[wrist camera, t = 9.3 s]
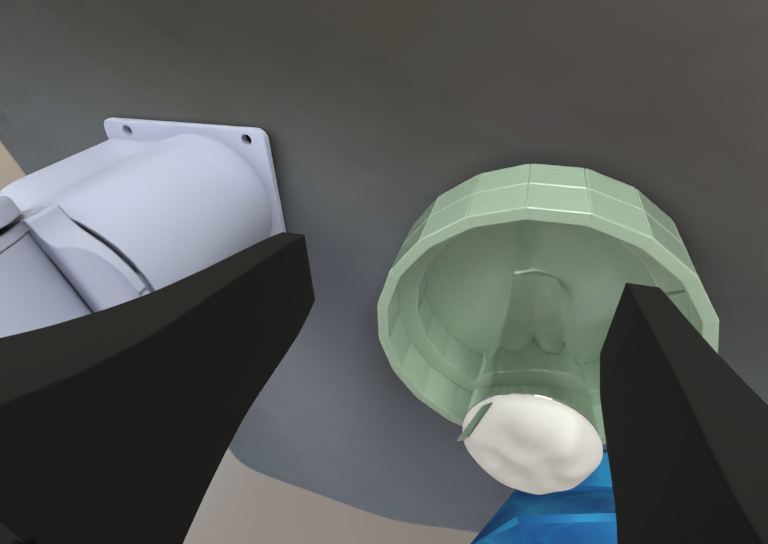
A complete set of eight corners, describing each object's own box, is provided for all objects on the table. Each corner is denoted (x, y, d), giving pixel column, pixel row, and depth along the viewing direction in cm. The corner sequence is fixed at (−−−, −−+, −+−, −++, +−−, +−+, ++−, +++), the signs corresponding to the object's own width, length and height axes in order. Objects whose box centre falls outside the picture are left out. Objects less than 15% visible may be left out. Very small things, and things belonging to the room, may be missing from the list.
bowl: (403, 353, 27) (382, 412, 24) (402, 147, 20) (370, 190, 16) (636, 399, 24) (650, 476, 20) (743, 173, 16) (795, 234, 13)
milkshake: (537, 230, 19) (529, 419, 12) (606, 311, 21) (639, 529, 13) (457, 277, 22) (407, 455, 14) (522, 346, 23) (509, 544, 16)
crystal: (728, 638, 22) (486, 642, 25) (652, 476, 29) (471, 492, 32) (749, 565, 18) (461, 579, 21) (656, 401, 26) (451, 426, 28)
